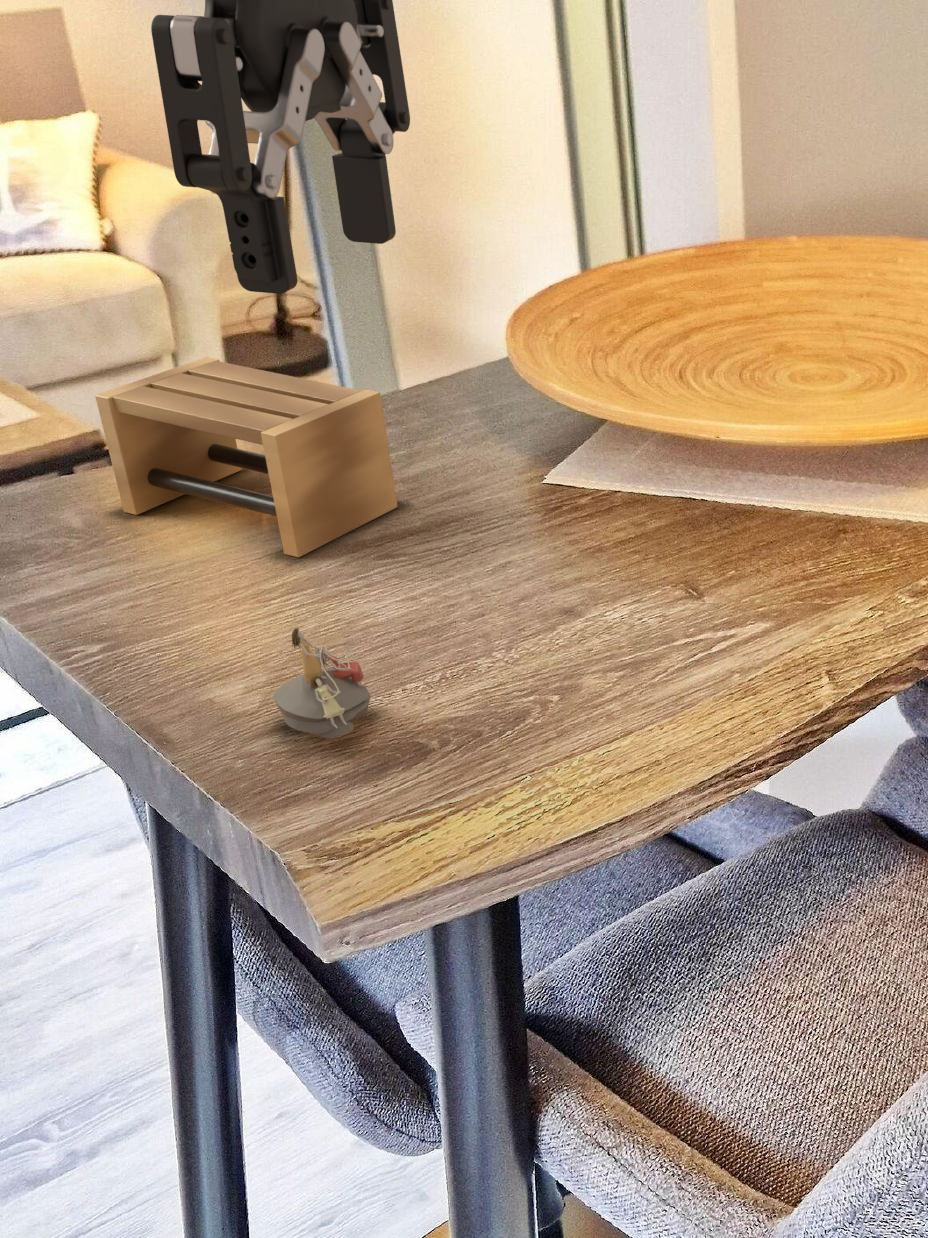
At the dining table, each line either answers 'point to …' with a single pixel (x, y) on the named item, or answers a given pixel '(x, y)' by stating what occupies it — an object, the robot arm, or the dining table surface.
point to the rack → (259, 413)
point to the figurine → (323, 693)
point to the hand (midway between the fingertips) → (322, 264)
